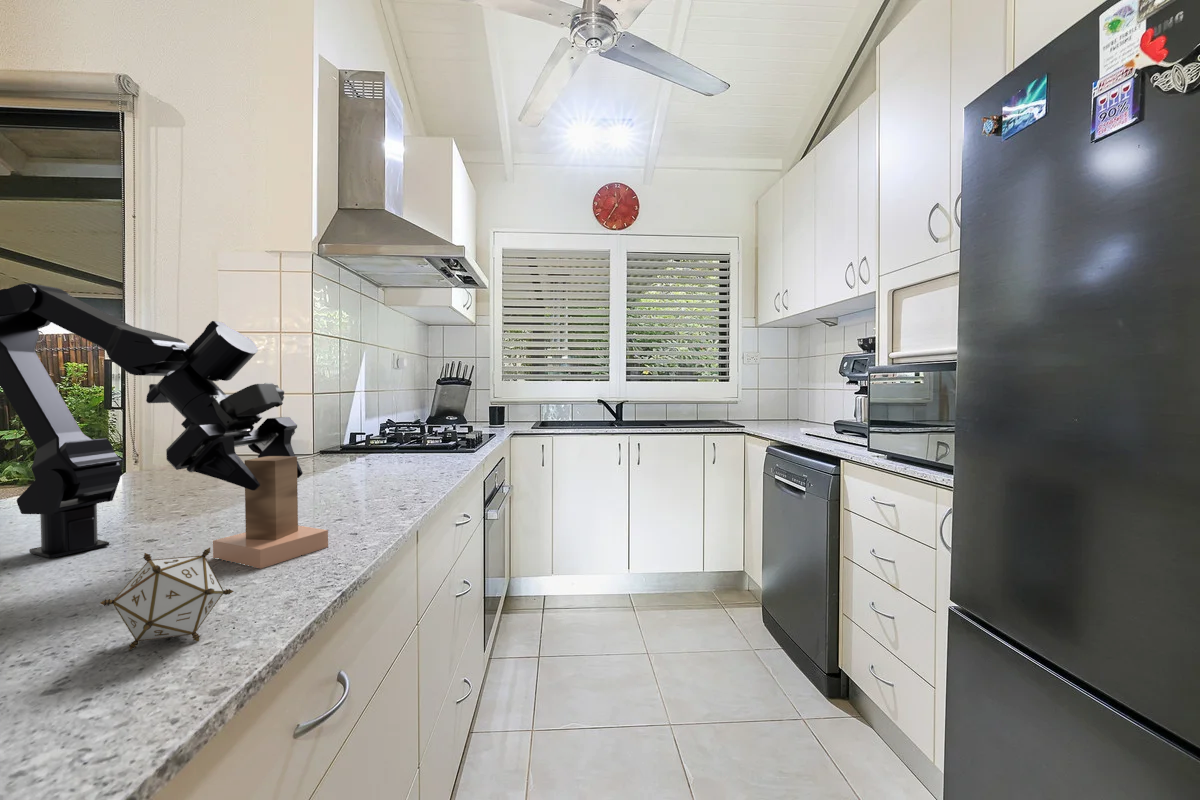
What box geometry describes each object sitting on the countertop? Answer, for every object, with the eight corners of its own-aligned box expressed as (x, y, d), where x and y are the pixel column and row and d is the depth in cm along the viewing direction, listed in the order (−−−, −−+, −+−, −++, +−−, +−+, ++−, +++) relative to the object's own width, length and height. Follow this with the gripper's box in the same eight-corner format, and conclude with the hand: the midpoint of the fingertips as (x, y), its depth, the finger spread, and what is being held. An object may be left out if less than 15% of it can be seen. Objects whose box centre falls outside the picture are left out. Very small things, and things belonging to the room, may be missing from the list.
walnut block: (245, 539, 72) (244, 460, 72) (269, 530, 76) (268, 456, 76) (276, 540, 71) (275, 460, 71) (298, 531, 76) (296, 456, 76)
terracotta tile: (213, 558, 71) (212, 540, 71) (282, 538, 81) (282, 522, 80) (260, 568, 67) (260, 549, 67) (328, 546, 77) (328, 530, 76)
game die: (174, 686, 47) (137, 630, 41) (105, 645, 49) (59, 584, 43) (259, 606, 54) (238, 548, 48) (196, 571, 56) (168, 511, 50)
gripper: (186, 360, 64) (274, 450, 64) (284, 366, 83) (352, 435, 83) (126, 423, 65) (213, 512, 64) (237, 415, 83) (305, 484, 83)
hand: (279, 481), depth 74 cm, fingers open, 9 cm apart
